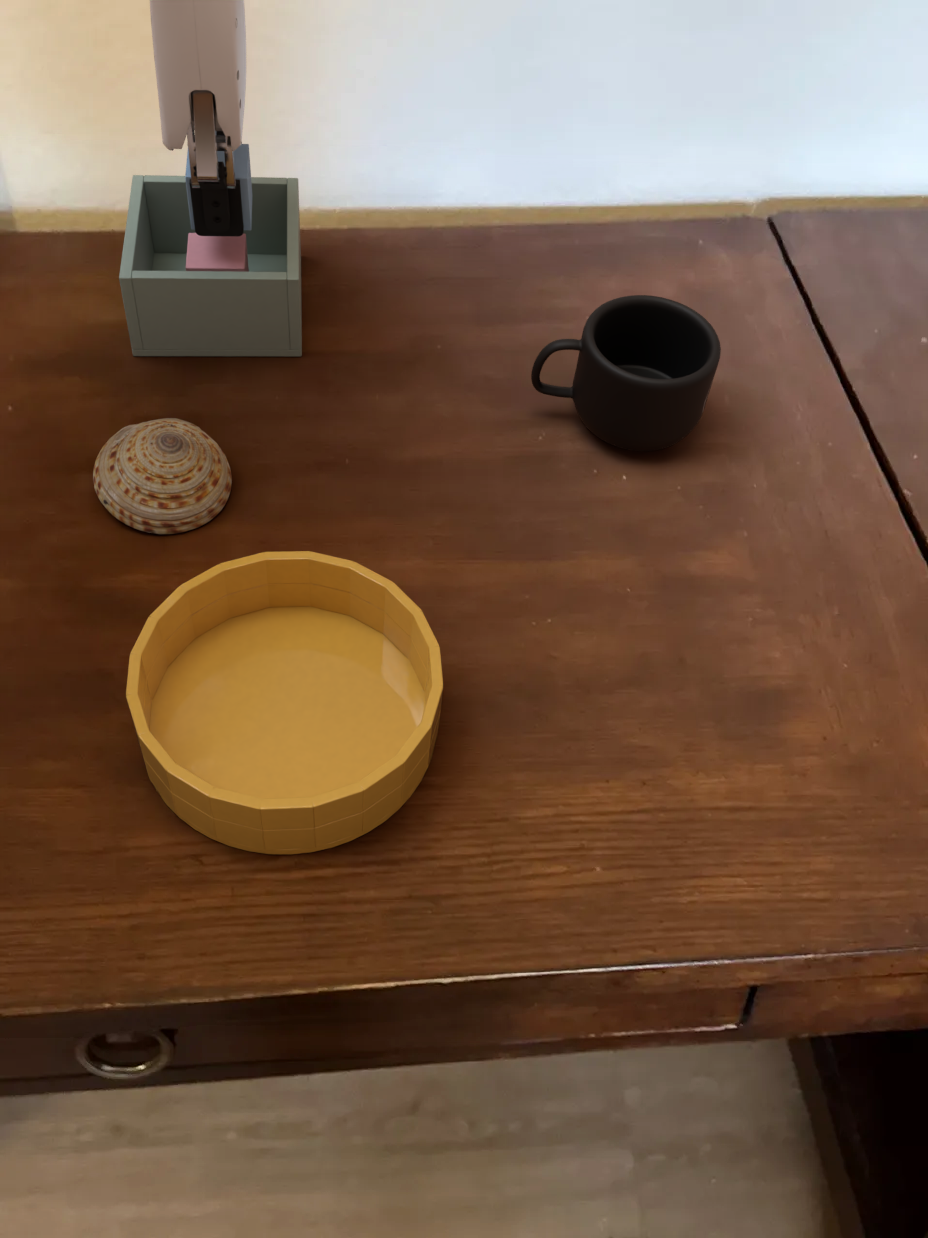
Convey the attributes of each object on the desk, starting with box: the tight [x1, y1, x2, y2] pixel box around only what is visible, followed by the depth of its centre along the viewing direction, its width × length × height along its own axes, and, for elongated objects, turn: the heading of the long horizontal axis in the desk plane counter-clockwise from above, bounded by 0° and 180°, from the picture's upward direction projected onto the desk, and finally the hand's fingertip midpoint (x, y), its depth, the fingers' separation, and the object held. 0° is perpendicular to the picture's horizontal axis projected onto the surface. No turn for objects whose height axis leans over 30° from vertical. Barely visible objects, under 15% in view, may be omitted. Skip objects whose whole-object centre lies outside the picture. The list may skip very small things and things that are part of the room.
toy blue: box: [184, 143, 252, 230], centre depth 82 cm, size 4×4×4 cm
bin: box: [118, 174, 303, 357], centre depth 85 cm, size 12×12×7 cm
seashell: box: [92, 417, 233, 535], centre depth 76 cm, size 8×6×8 cm
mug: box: [530, 294, 722, 452], centre depth 81 cm, size 12×9×7 cm
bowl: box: [125, 550, 444, 855], centre depth 65 cm, size 16×16×5 cm
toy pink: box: [186, 233, 249, 272], centre depth 86 cm, size 4×4×4 cm
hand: (220, 210), depth 83 cm, fingers closed on toy blue, 4 cm apart
